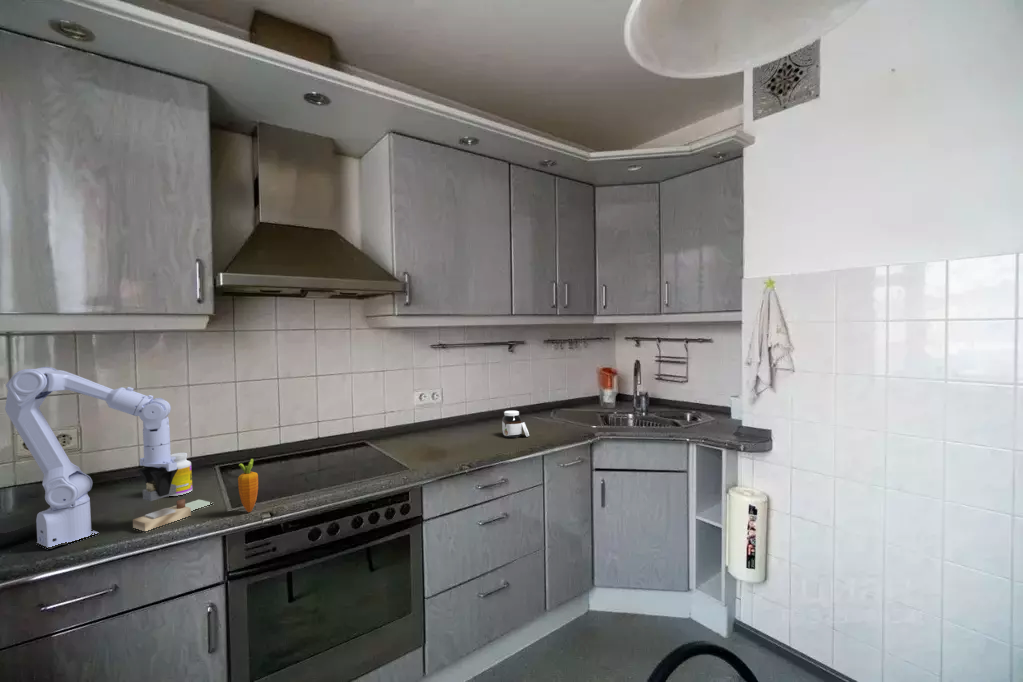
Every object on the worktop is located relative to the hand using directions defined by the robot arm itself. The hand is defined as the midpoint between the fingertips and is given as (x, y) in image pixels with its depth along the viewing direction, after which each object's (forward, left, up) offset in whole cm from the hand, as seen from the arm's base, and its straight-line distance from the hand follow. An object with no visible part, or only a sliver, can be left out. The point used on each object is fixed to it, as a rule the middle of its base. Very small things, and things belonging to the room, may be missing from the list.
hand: (159, 494), depth 123 cm
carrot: (+15, -16, -8) cm, 23 cm away
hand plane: (+1, 0, -8) cm, 8 cm away
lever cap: (0, 0, -1) cm, 1 cm away
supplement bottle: (+16, +21, -8) cm, 27 cm away
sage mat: (+11, +4, -8) cm, 14 cm away
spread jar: (+124, -47, -8) cm, 132 cm away
